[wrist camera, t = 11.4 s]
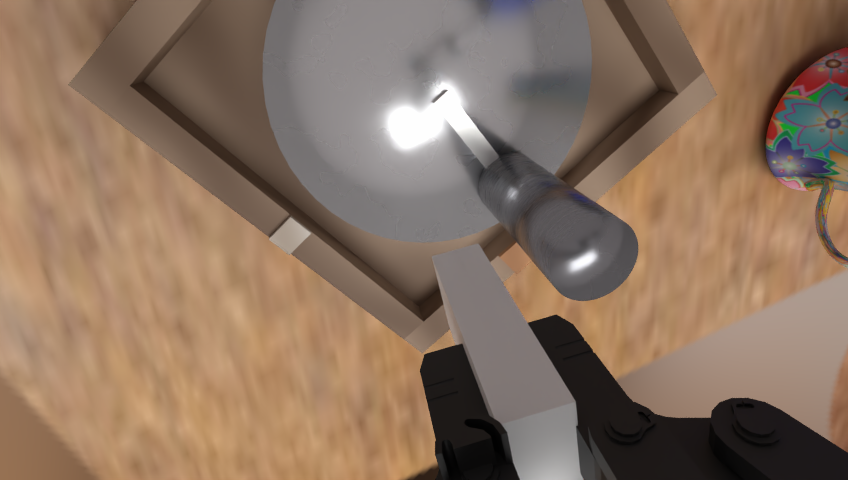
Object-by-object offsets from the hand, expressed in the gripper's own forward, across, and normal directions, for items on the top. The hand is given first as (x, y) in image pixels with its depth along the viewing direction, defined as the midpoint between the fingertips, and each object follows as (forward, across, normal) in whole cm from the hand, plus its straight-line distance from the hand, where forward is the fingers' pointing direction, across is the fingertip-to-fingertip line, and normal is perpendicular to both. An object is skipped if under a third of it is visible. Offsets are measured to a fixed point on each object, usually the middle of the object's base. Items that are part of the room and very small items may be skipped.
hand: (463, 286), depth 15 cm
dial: (+10, +2, +5) cm, 11 cm away
